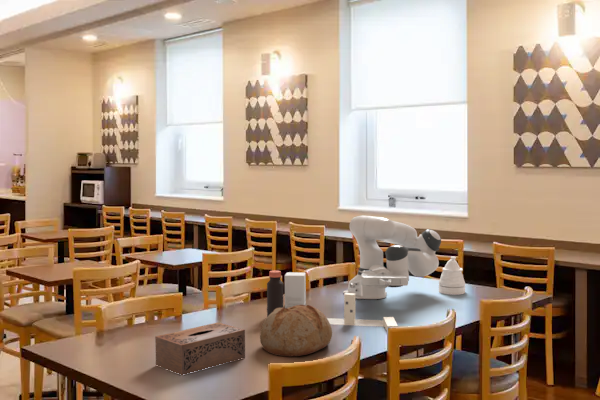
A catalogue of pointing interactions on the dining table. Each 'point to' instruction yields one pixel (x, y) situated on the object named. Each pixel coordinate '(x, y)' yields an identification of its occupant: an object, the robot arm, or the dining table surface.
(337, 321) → the felt strip
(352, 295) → the tile two
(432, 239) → the robot arm
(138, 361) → the dining table surface
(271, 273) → the bottle
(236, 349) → the tissue box cover
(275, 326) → the bread
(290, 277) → the supplement box
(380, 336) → the dining table surface
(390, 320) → the tile one
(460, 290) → the honey pot
